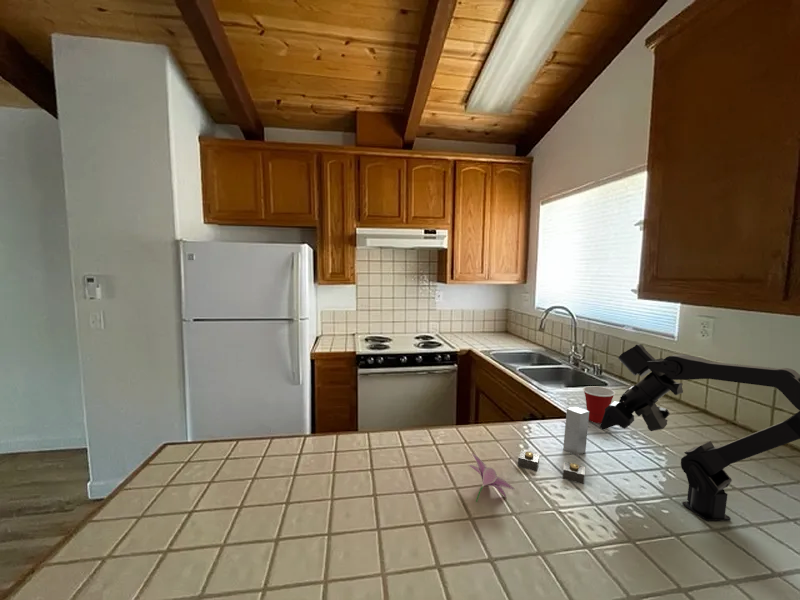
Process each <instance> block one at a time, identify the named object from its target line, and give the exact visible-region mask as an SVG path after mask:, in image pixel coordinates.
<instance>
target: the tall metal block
mask: <svg viewBox="0 0 800 600" xmlns="http://www.w3.org/2000/svg"><path fill="white" fill-rule="evenodd" d="M589 421H590V420H589V411H587V409H583V408H580V407H579V406H572V407H568V408H566V416H565V426H564V427H565V428H564V437H563V445H562V446H563V449H562V450H563V451H565V452H567V453H569V452H570V453H569V454H571V453H572V455H573V454H574V455H573V456H576V457H578V456H581V455H584V454H586V450H587V449H586V448H587V439H588V430H589ZM583 453H584V454H583Z"/></svg>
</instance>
